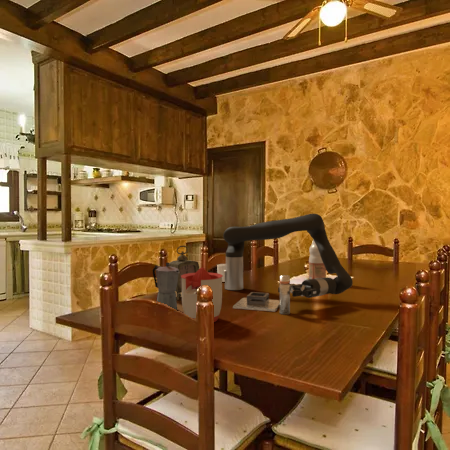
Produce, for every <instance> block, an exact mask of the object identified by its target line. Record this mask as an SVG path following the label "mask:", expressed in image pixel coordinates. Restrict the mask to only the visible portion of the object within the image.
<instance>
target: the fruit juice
mask: <svg viewBox="0 0 450 450" xmlns="http://www.w3.org/2000/svg"><path fill="white" fill-rule="evenodd" d="M308 249H309V250H308V251H309V258H308V279H315V278H327V273H326V272H327V270H326V268H325V266H324V264H323V261H322V259H321V256H320V253H319V250H318V248H317V245H316V243H315V242H314V240H313V239H312V243H311V245H310V246H309V248H308Z"/></svg>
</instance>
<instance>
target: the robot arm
mask: <svg viewBox="0 0 450 450" xmlns="http://www.w3.org/2000/svg"><path fill="white" fill-rule="evenodd" d="M302 231H303V232H305V231H306V232H307V233H308V234H309V235H310V237H311V239H312V241H313V240H314V242H315V243H316V245H317V248H318V250H319V253H320V256H321V259H322V261H323V264H324V266H325V268H326V272H327V273H328V274H330V275H333V274H336V277H334V278H332V277H326V278H315V279H309V278H308V279H304V280H302V282H301V283H297V284H295V283H290V294H292V295H291V296H292V297H293V298H294V297H305V298H309V299H310V298H315V297H320V296H321V297H322V296H325V295H329V294H330V295H340V294H343V293H344V292H346V290H348V289H350V288H351V287H352V286H353V283H354V282H353V277H352V275H350V274H349V273H348V272H347V270H346V269H345V268H344V266H342V264H341V261H340V260H339V257H338V255H337V253H336V251H335V250H334V248H333V246H332V245H331V242H330V241H329V238H328V235H327V231H326V226H325V222H324V219H323V217H322V216H321V215H320V214H318V213H308V214H304V215H301V216H297V217H291V218H283V219H277V220H275V219H274V220H269V221H263V222H259V223H255V224H251V225H248V226H247V225H246V226H229V227H227V228H226V229H225V230H224V232H223V235H222V236H223V239H224V241H225V242H226V243H227V249H226V251H225V264H226V271H225V283H224V290H228V291H241V290H244V251H245V242H247V241H263V240H264V241H266V240H268V241H269V240H276V239H281V238H284V237H286V236H288V235H290V234H293V233H297V232H302ZM277 293H279V294H280V286H278V289H277Z"/></svg>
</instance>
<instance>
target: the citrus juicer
mask: <svg viewBox="0 0 450 450" xmlns="http://www.w3.org/2000/svg"><path fill="white" fill-rule="evenodd" d="M222 277H223V275H221V274H218V273H217V272H209V271H207V269H205V268H204V267H199V270H198V271H197V272H196V273H188V274H183V275H182V276H181V278H182V292H181V305H182V309H183V314H186V315H188V316H189V317H191V318H193V319H195V318H196V302H197V289H198V288H199V287H200V286H202V285H208V286H210V287H211V289H212V291H213V299H212V302H213V305H214V322H213V323H215V322H217V321H218V319H219V317H220V315H221V309H222V304H223V283H222Z"/></svg>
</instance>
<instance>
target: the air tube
mask: <svg viewBox="0 0 450 450" xmlns="http://www.w3.org/2000/svg"><path fill="white" fill-rule="evenodd" d="M290 279H291V275H288V274H286V275H285V274H282V275H279V287H280V293H279V300H280V306H279V314H280V315H285V316H286V315H287V316H288V315H290V314H291V308H290V307H291V295H290V294H291V292H290V284H291V280H290Z"/></svg>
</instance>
